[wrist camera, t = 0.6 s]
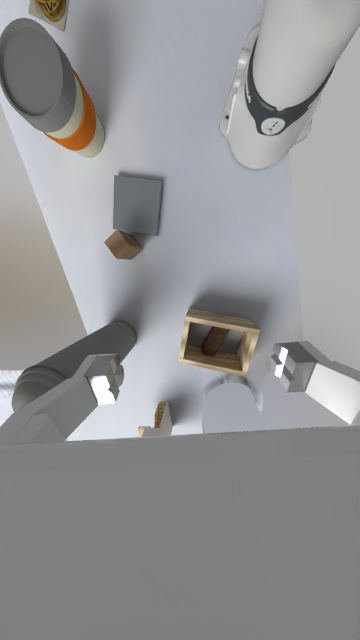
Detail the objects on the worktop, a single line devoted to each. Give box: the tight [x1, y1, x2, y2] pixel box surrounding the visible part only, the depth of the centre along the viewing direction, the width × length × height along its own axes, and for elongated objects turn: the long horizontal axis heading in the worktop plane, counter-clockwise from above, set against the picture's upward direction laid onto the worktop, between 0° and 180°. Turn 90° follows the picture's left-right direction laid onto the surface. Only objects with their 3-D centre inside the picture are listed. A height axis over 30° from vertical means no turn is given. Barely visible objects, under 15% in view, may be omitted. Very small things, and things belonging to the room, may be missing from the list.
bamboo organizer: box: [178, 308, 260, 376], centre depth 49 cm, size 13×18×9 cm
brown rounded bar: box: [202, 326, 230, 355], centre depth 51 cm, size 11×4×5 cm, turn 156°
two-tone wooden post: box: [138, 402, 204, 437], centre depth 55 cm, size 8×12×26 cm
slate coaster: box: [113, 175, 163, 236], centre depth 45 cm, size 12×12×2 cm
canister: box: [12, 321, 136, 413], centre depth 42 cm, size 13×13×35 cm
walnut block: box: [104, 229, 143, 259], centre depth 45 cm, size 4×4×9 cm
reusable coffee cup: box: [0, 18, 105, 158], centre depth 36 cm, size 12×13×15 cm
